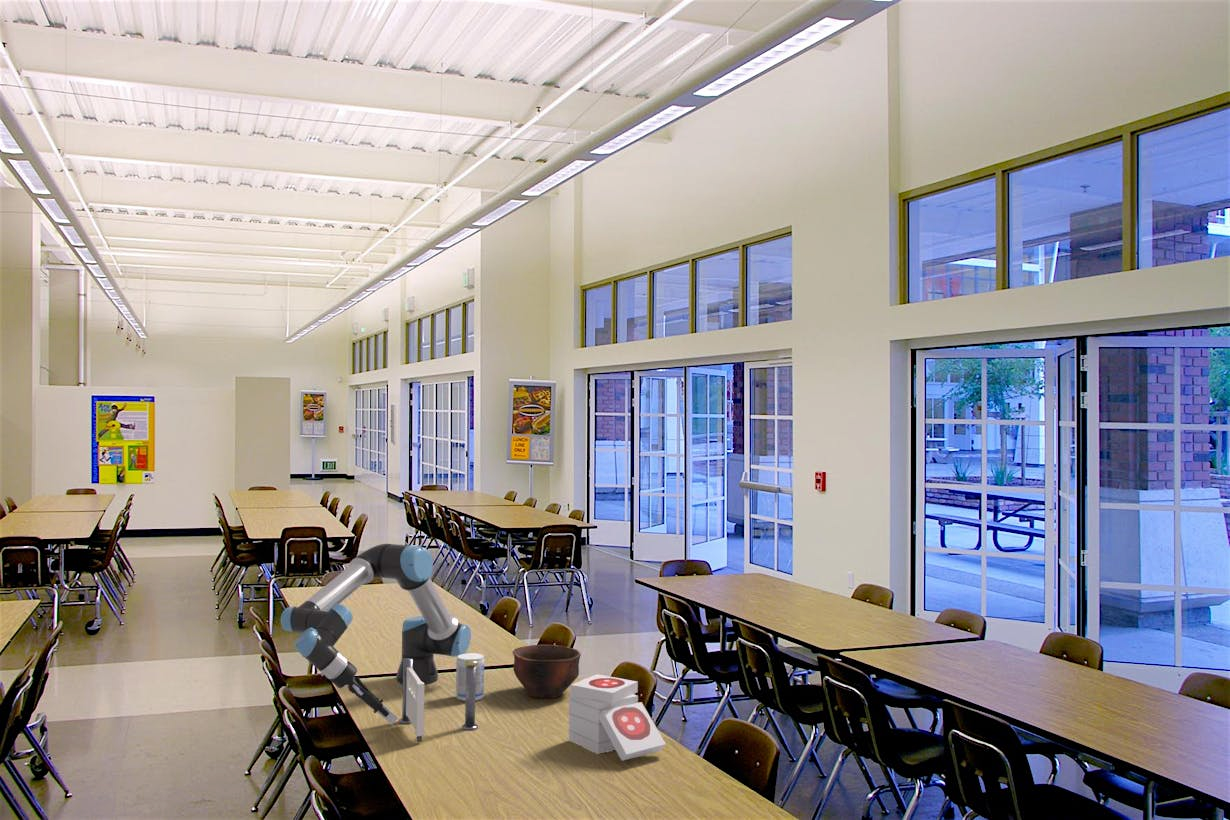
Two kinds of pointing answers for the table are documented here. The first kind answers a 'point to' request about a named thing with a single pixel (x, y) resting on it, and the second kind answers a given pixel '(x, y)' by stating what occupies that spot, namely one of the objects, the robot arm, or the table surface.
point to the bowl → (546, 669)
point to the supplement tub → (462, 676)
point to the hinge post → (406, 664)
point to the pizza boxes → (611, 718)
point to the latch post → (470, 695)
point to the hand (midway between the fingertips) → (394, 720)
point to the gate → (415, 702)
